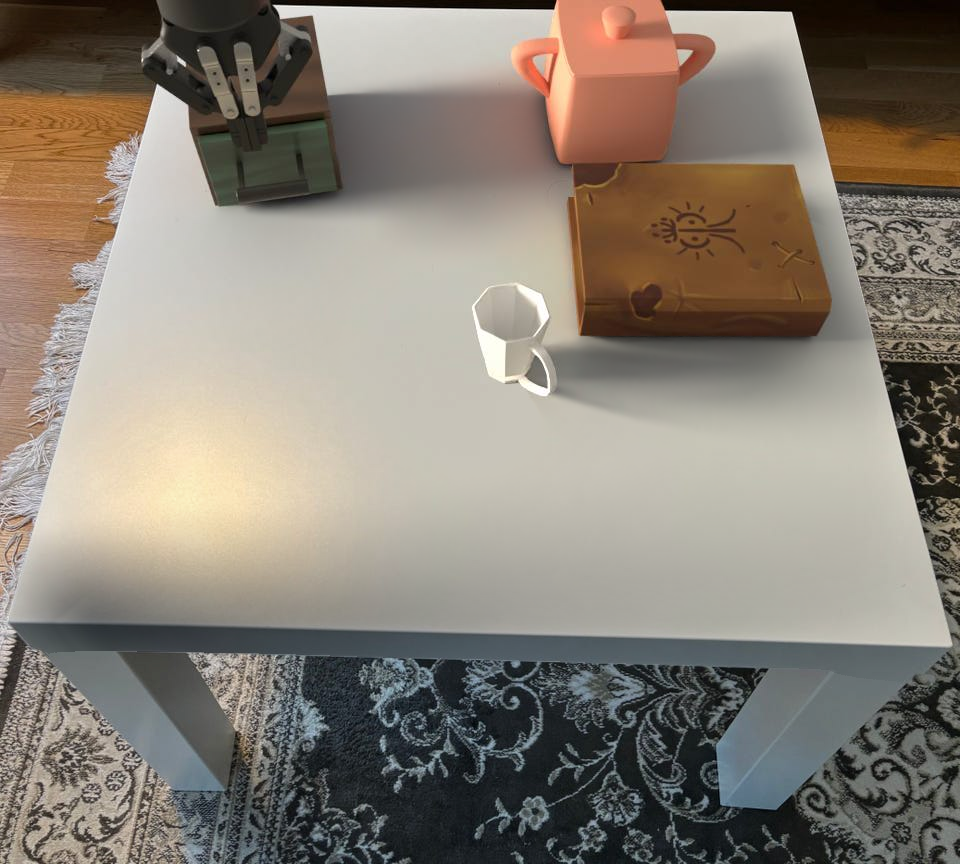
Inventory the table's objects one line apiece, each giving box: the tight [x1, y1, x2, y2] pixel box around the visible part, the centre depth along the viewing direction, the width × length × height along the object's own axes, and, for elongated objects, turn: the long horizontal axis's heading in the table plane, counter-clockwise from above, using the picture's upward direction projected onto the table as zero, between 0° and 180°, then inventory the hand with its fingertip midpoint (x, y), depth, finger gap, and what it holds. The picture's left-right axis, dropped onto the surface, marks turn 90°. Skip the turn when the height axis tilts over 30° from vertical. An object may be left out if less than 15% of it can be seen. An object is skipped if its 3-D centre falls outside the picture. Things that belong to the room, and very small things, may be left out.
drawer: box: [198, 119, 338, 207], centre depth 94 cm, size 20×13×8 cm, turn 12°
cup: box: [471, 281, 558, 397], centre depth 81 cm, size 7×10×8 cm
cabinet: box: [185, 14, 344, 206], centre depth 96 cm, size 16×14×10 cm
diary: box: [566, 162, 833, 337], centre depth 89 cm, size 23×19×6 cm
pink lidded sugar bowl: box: [510, 0, 717, 165], centre depth 98 cm, size 20×22×14 cm
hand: (252, 145), depth 73 cm, fingers closed
